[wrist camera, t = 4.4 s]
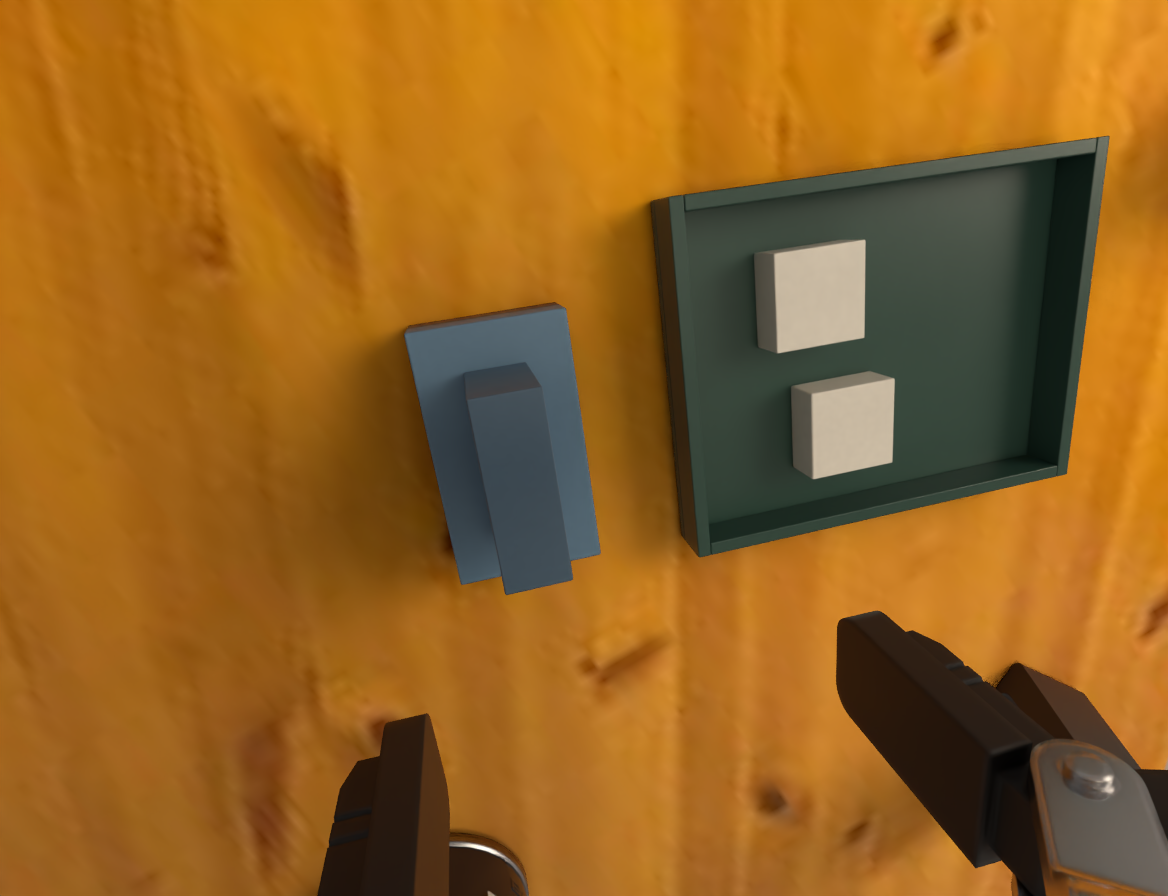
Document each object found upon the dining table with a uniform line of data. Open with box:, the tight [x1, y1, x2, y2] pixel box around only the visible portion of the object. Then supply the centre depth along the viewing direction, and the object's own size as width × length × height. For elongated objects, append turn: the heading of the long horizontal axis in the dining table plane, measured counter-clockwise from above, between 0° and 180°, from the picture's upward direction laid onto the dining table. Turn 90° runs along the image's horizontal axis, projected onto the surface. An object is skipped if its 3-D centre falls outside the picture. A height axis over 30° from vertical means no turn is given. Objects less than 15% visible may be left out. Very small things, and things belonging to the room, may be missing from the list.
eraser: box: [404, 302, 601, 595], centre depth 24 cm, size 6×10×7 cm, turn 8°
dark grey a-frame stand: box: [996, 663, 1141, 769], centre depth 34 cm, size 9×6×12 cm, turn 151°
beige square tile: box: [791, 371, 895, 479], centre depth 29 cm, size 4×4×2 cm
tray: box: [651, 136, 1109, 557], centre depth 28 cm, size 19×15×2 cm
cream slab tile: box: [754, 239, 866, 353], centre depth 26 cm, size 4×4×2 cm
